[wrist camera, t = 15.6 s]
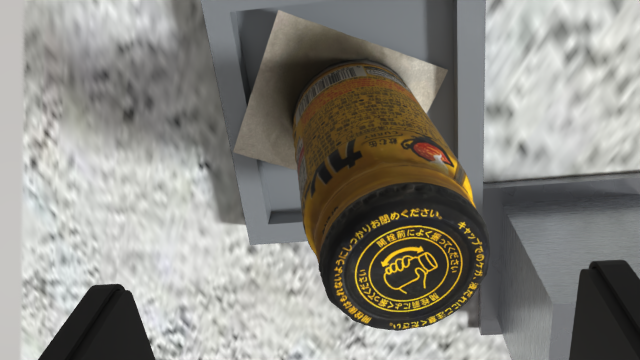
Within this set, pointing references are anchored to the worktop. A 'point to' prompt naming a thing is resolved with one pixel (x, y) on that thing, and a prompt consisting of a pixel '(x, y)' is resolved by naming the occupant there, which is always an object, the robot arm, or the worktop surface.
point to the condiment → (368, 173)
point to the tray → (373, 26)
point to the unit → (551, 254)
